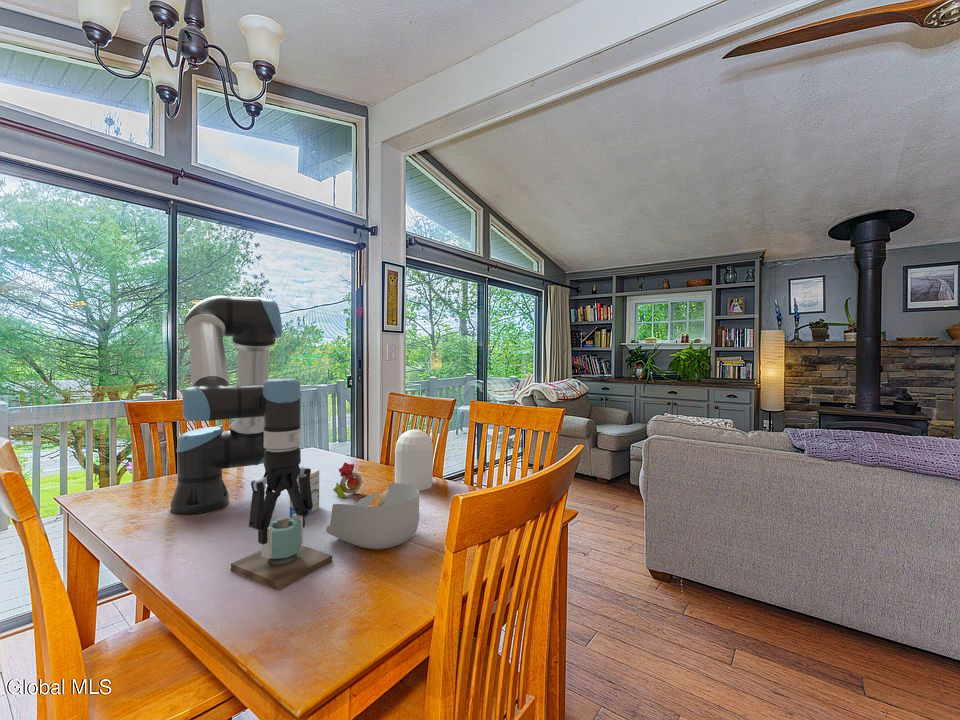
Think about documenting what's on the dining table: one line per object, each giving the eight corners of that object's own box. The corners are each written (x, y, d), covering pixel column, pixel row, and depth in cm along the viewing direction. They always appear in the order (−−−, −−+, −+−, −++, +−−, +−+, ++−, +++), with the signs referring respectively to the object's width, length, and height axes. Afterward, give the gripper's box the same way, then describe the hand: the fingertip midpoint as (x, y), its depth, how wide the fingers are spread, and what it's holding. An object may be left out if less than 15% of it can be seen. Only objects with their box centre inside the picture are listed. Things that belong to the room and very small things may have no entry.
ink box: (304, 517, 129) (304, 477, 129) (288, 516, 130) (288, 475, 130) (320, 507, 138) (320, 469, 137) (305, 505, 139) (305, 468, 138)
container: (440, 483, 163) (440, 428, 162) (416, 493, 151) (416, 434, 151) (411, 477, 170) (412, 424, 169) (386, 486, 158) (386, 430, 158)
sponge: (409, 527, 134) (420, 494, 139) (393, 517, 126) (405, 483, 131) (383, 521, 138) (395, 489, 143) (367, 512, 130) (380, 478, 135)
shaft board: (230, 570, 99) (230, 523, 98) (286, 545, 111) (285, 503, 111) (278, 590, 91) (278, 539, 91) (332, 561, 103) (332, 516, 103)
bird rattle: (350, 497, 153) (325, 491, 148) (362, 465, 155) (339, 458, 150) (357, 502, 148) (332, 497, 143) (370, 470, 150) (346, 463, 145)
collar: (257, 553, 100) (257, 526, 99) (285, 541, 106) (285, 516, 106) (279, 561, 96) (279, 533, 96) (307, 548, 102) (307, 522, 102)
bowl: (380, 564, 102) (381, 512, 102) (323, 544, 112) (323, 497, 112) (434, 533, 120) (434, 489, 119) (380, 518, 130) (380, 477, 129)
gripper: (250, 460, 90) (251, 573, 90) (329, 441, 107) (329, 537, 108) (228, 455, 93) (228, 564, 94) (308, 438, 111) (308, 530, 112)
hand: (282, 549), depth 101 cm, fingers closed on collar, 7 cm apart
